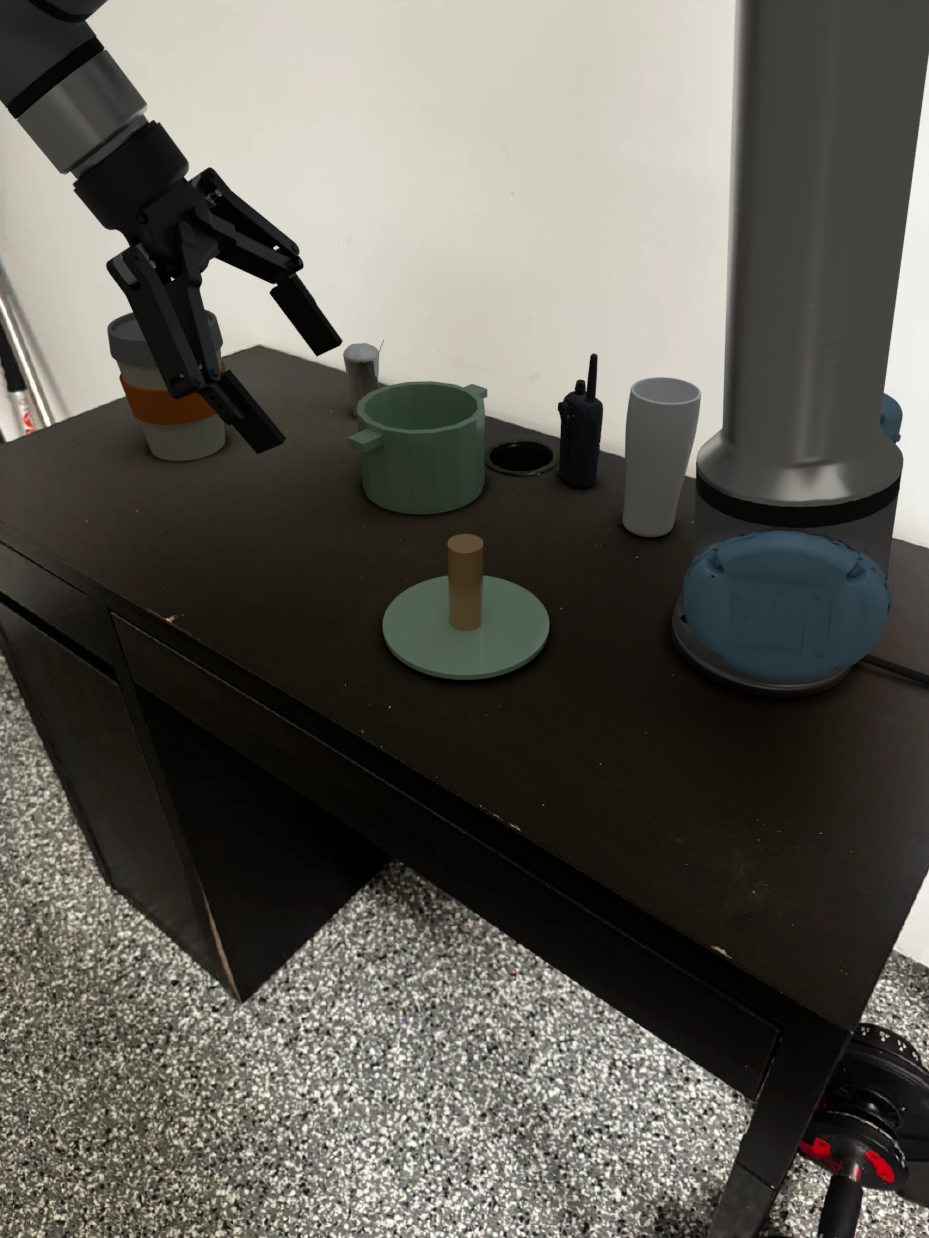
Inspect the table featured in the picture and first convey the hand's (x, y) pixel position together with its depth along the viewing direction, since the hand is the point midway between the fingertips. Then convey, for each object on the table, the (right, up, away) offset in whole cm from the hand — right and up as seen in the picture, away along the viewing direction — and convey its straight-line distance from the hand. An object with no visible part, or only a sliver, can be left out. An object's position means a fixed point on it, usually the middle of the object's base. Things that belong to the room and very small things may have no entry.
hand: (302, 395), depth 72 cm
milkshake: (+1, +9, +44) cm, 45 cm away
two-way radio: (+26, -3, +29) cm, 39 cm away
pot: (+9, -3, +28) cm, 30 cm away
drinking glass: (+32, -9, +21) cm, 39 cm away
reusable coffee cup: (-21, +3, +37) cm, 43 cm away
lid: (+13, -19, +6) cm, 24 cm away
